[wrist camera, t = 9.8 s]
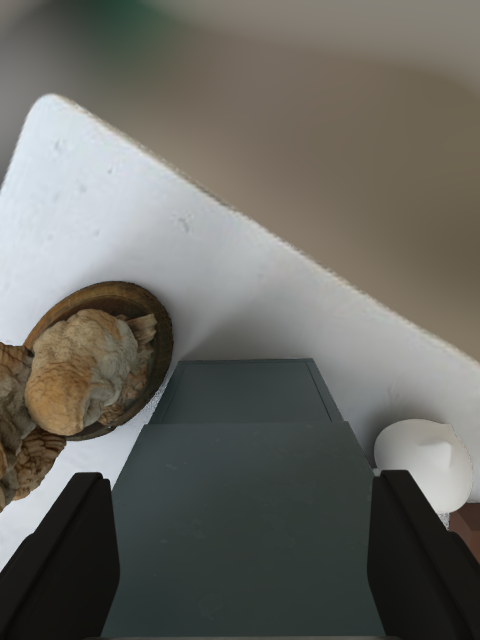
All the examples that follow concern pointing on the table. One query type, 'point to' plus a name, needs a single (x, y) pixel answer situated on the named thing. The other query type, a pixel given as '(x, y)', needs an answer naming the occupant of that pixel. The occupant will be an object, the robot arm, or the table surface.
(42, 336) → the owl pair sculpture
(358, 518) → the bin lid
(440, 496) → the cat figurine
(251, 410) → the box
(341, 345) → the table surface
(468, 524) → the chocolate bar
